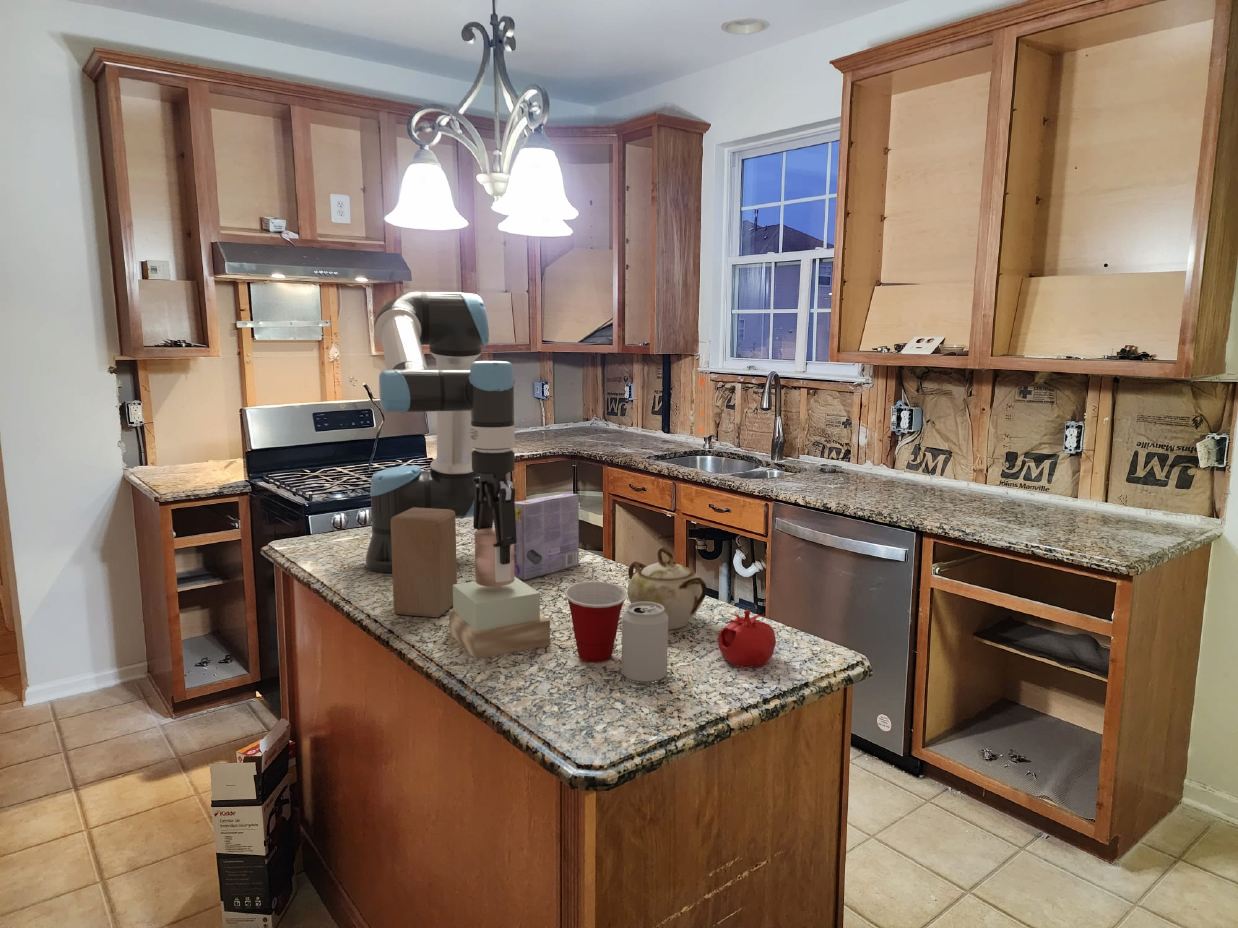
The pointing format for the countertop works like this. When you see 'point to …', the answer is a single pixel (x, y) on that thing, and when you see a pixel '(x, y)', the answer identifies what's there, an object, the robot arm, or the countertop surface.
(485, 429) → the robot arm
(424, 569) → the block
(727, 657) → the pomegranate
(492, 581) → the pink rounded cylinder
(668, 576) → the sugar bowl
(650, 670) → the can
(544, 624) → the tower base
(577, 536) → the cake pan box
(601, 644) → the plastic cup
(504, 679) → the countertop surface
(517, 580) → the tower top
